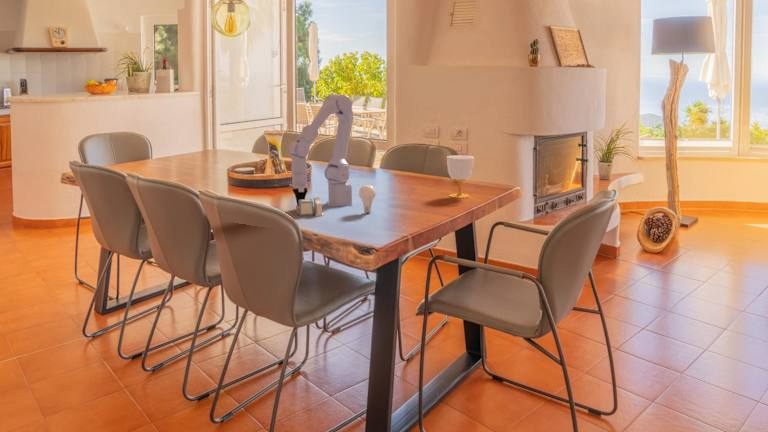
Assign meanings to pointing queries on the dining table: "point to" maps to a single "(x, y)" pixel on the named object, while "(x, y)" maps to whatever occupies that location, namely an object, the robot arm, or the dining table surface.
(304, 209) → the blue-grey cube
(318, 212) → the tan rectangular block
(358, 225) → the dining table surface
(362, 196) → the lightbulb
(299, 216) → the pad
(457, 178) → the cup
